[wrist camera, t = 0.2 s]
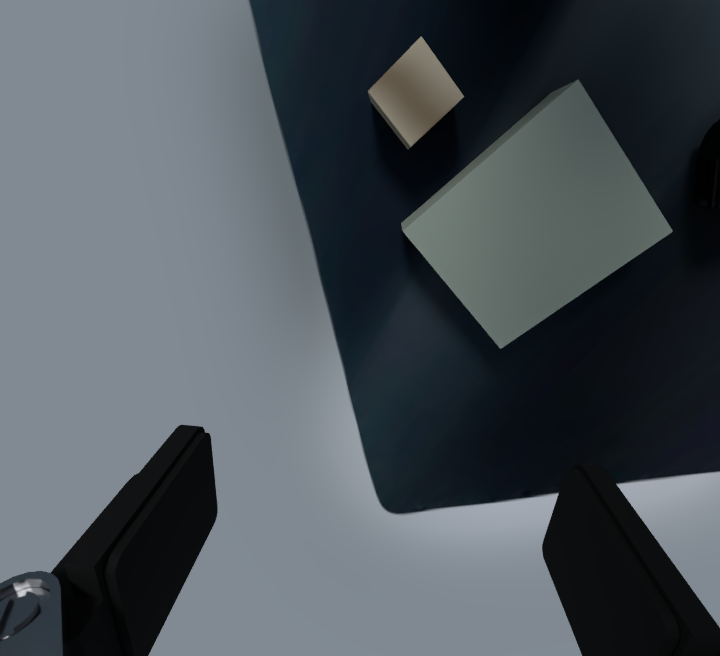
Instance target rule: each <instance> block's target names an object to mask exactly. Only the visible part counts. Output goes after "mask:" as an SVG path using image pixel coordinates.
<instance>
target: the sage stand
mask: <svg viewBox="0 0 720 656" xmlns="http://www.w3.org/2000/svg"><path fill="white" fill-rule="evenodd" d="M401 225H402V231H403V232H404V233H405V235H406V236H407V237H408V238H409V239H410V241H411V242H412V243H413V244H414V245H415V247H416V248H417V249H418V250H419V251H420V253H421V254H422V255H423V256H424V257H425V259H426V260H427V261H428V262H429V264H430V265H431V266H432V267H433V268H434V270H435V271H436V272H437V273H438V274H439V276H440V277H441V278H442V279H443V280H444V282H445V283H446V284H447V285H448V286H449V288H450V289H451V290H452V291H453V292H454V294H455V295H456V296H457V297H458V298H459V300H460V301H461V302H462V303H463V304H464V306H465V307H466V308H467V309H468V310H469V312H470V313H471V314H472V315H473V316H474V318H475V319H476V320H477V321H478V322H479V324H480V325H481V326H482V327H483V328H484V330H485V331H486V332H487V333H488V334H489V336H490V337H491V338H492V339H493V340H494V342H495V343H496V344H497V345H498V347H499V348H500V349H501V348H503V347H504V346H506V345H507V344H509V343H510V342H512V341H513V340H515V339H516V338H517V337H519V336H520V335H522V334H523V333H525V332H526V331H528V330H529V329H531V328H532V327H534V326H535V325H537V324H538V323H539V322H541V321H542V320H544V319H545V318H547V317H548V316H550V315H551V314H553V313H554V312H556V311H557V310H558V309H560V308H561V307H563V306H564V305H566V304H567V303H569V302H570V301H572V300H573V299H575V298H576V297H578V296H579V295H580V294H582V293H583V292H585V291H586V290H588V289H589V288H591V287H592V286H594V285H595V284H597V283H598V282H600V281H601V280H602V279H604V278H605V277H607V276H608V275H610V274H611V273H613V272H614V271H616V270H617V269H619V268H620V267H622V266H623V265H624V264H626V263H627V262H629V261H630V260H632V259H633V258H635V257H636V256H638V255H639V254H641V253H642V252H643V251H645V250H646V249H648V248H649V247H651V246H652V245H654V244H655V243H657V242H658V241H660V240H661V239H663V238H664V237H665V236H667V235H668V234H670V233H671V232H673V231H672V229H671V227H670V226H669V224H668V223H667V221H666V219H665V218H664V216H663V215H662V213H661V211H660V210H659V208H658V207H657V205H656V203H655V202H654V200H653V198H652V197H651V195H650V194H649V192H648V190H647V189H646V187H645V186H644V184H643V182H642V181H641V179H640V178H639V176H638V174H637V173H636V171H635V170H634V168H633V166H632V165H631V163H630V162H629V160H628V158H627V157H626V155H625V153H624V152H623V150H622V149H621V147H620V145H619V144H618V142H617V141H616V139H615V137H614V136H613V134H612V133H611V131H610V129H609V128H608V126H607V125H606V123H605V121H604V120H603V118H602V116H601V115H600V113H599V112H598V110H597V108H596V107H595V105H594V104H593V102H592V100H591V99H590V97H589V96H588V94H587V92H586V91H585V89H584V88H583V86H582V84H581V83H580V81H579V79H578V80H576V81H574V82H572V83H570V84H568V85H565V86H563V87H561V88H559V89H557V90H555V91H553V92H551V93H550V94H549V95H548V96H547V97H545V98H544V99H543V100H542V101H541V102H540V103H539V104H537V105H536V106H535V107H534V108H533V109H532V110H531V111H529V112H528V113H527V114H526V115H525V116H524V117H523V118H521V119H520V120H519V121H518V122H517V123H516V124H515V125H513V126H512V127H511V128H510V129H509V130H508V131H507V132H505V133H504V134H503V135H502V136H501V137H500V138H498V139H497V140H496V141H495V142H494V143H493V144H492V145H490V146H489V147H488V148H487V149H486V150H485V151H484V152H482V153H481V154H480V155H479V156H478V157H477V158H476V159H474V160H473V161H472V162H471V163H470V164H469V165H468V166H466V167H465V168H464V169H463V170H462V171H461V172H459V173H458V174H457V175H456V176H455V177H454V178H453V179H451V180H450V181H449V182H448V183H447V184H446V185H445V186H443V187H442V188H441V189H440V190H439V191H438V192H437V193H435V194H434V195H433V196H432V197H431V198H430V199H429V200H427V201H426V202H425V203H424V204H423V205H422V206H420V207H419V208H418V209H417V210H416V211H415V212H414V213H412V214H411V215H410V216H409V217H408V218H407V219H406V220H404V221H403V222H402V223H401Z"/></svg>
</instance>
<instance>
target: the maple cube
mask: <svg viewBox="0 0 720 656" xmlns="http://www.w3.org/2000/svg"><path fill="white" fill-rule="evenodd" d="M368 94H369V97H370V101H371V103H372V104H373V105H374V107H375V108H376V109H377V110H378V112H379V113H380V114H381V116H382V117H383V118H384V119H385V121H386V122H387V123H388V125H389V126H390V127H391V128H392V130H393V131H394V132H395V134H396V135H397V136H398V137H399V139H400V140H401V141H402V143H403V144H404V145H405V147H406V148H407V149H409V148H410V147H411V146H413V145H414V144H415V143H416V142H417V141H418V140H419V139H420V138H421V137H422V136H423V135H424V134H425V133H426V132H427V131H429V130H430V129H431V128H432V127H433V126H434V125H435V124H436V123H437V122H438V121H439V120H440V119H441V118H442V117H443V116H445V115H446V114H447V113H448V112H449V111H450V110H451V109H452V108H453V107H454V106H455V105H456V104H457V103H458V102H459V101H460V100H461V99H462V98H463V97H464V96H463V94H462V93H461V91H460V90H459V89H458V87H457V86H456V84H455V83H454V82H453V80H452V79H451V77H450V76H449V75H448V73H447V72H446V70H445V69H444V67H443V66H442V65H441V63H440V62H439V60H438V59H437V58H436V56H435V55H434V53H433V52H432V51H431V49H430V48H429V46H428V45H427V44H426V42H425V41H424V39H423V38H422V36H421V37H420V38H419V39H418V40H417V41H416V42H415V43H414V44H413V45H412V46H411V47H410V48H409V49H408V50H407V51H406V53H405V54H404V55H403V56H402V57H401V58H400V59H399V60H398V61H397V62H396V63H395V64H394V65H393V66H392V67H391V68H390V69H389V70H388V71H387V72H386V73H385V74H384V75H383V76H382V77H381V78H380V79H379V80H378V81H377V82H376V84H375V85H374V86H373V87H372V88H371V89H370V90H369V91H368Z"/></svg>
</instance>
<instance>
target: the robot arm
mask: <svg viewBox="0 0 720 656" xmlns="http://www.w3.org/2000/svg"><path fill="white" fill-rule="evenodd" d="M216 517H217V498H216V488H215V477H214V467H213V457H212V446H211V437H210V434H209V433H205V431H204V429H203V427H199V426H189V425H188V426H187V425H180V426H178V427H177V428H176V429H175V431H174V432H173V433H172V434H171V435H170V437H169V438H168V439H167V440H166V441H165V443H164V444H163V445H162V446H161V448H160V449H159V450H158V451H157V452H156V453H155V455H154V456H153V457H152V458H151V459H150V461H149V462H148V463H147V464H146V465H145V467H144V468H143V469H142V470H141V471H140V473H138V474H136V475H134V476H133V477H132V478H131V479H130V480H129V481H128V482H127V483H126V484H125V486H124V487H123V488H122V489H121V490H120V491H119V493H118V494H117V495H116V496H115V497H114V499H113V500H112V501H111V502H110V503H109V504H108V506H107V507H106V508H105V509H104V510H103V511H102V513H101V514H100V515H99V516H98V517H97V519H96V520H95V521H94V522H93V523H92V524H91V526H90V527H89V528H88V529H87V530H86V532H85V533H84V534H83V535H82V536H81V538H80V539H79V540H78V541H77V542H76V543H75V545H74V546H73V547H72V548H71V549H70V550H69V552H68V553H67V554H66V555H65V557H64V558H63V559H62V560H61V561H60V562H59V564H58V565H57V566H56V567H55V568H54V569H53V571H52V572H51V573H48V572H43V571H36V572H27V573H24V574H21V575H18V576H15V577H12V578H10V579H8V580H6V581H4V582H2V583H0V656H148V655H149V653H150V651H151V649H152V647H153V645H154V643H155V641H156V639H157V637H158V635H159V633H160V631H161V629H162V627H163V625H164V623H165V621H166V619H167V617H168V615H169V613H170V611H171V609H172V607H173V605H174V603H175V601H176V599H177V597H178V595H179V593H180V591H181V589H182V587H183V585H184V583H185V581H186V579H187V577H188V575H189V573H190V571H191V569H192V567H193V565H194V563H195V561H196V559H197V557H198V555H199V553H200V551H201V549H202V547H203V545H204V543H205V541H206V539H207V537H208V535H209V533H210V531H211V529H212V527H213V525H214V523H215V520H216ZM542 550H543V557H544V560H545V563H546V565H547V567H548V570H549V572H550V575H551V578H552V580H553V583H554V585H555V588H556V590H557V593H558V595H559V598H560V600H561V603H562V606H563V608H564V611H565V613H566V616H567V618H568V621H569V623H570V625H571V628H572V631H573V633H574V636H575V638H576V641H577V643H578V646H579V648H580V651H581V653H582V656H720V628H719V626H718V625H717V623H716V622H715V621H714V619H713V618H712V617H711V615H710V614H709V612H708V611H707V610H706V608H705V607H704V606H703V604H702V603H701V601H700V600H699V598H698V597H697V596H696V594H695V593H694V592H693V590H692V589H691V588H690V586H689V585H688V583H687V582H686V581H685V579H684V578H683V576H682V575H681V574H680V572H679V571H678V569H677V568H676V567H675V565H674V564H673V563H672V561H671V560H670V558H669V557H668V556H667V554H666V553H665V552H664V550H663V549H662V547H661V546H660V544H659V543H658V542H657V540H656V539H655V538H654V536H653V535H652V533H651V532H650V531H649V529H648V528H647V526H646V525H645V524H644V522H643V521H642V519H641V518H640V517H639V515H638V514H637V513H636V511H635V510H634V508H633V507H632V506H631V504H630V503H629V502H628V500H627V499H626V497H625V496H624V495H623V493H622V492H621V491H620V489H619V488H618V486H617V485H616V483H615V482H614V481H613V479H612V478H611V477H610V475H609V474H608V472H607V471H606V470H605V469H604V468H603V467H602V466H600V465H591V464H581V463H577V464H575V465H574V466H573V468H572V469H571V468H570V469H568V470H567V471H566V473H565V476H564V479H563V482H562V485H561V489H560V492H559V495H558V498H557V501H556V504H555V507H554V510H553V513H552V516H551V520H550V523H549V525H548V529H547V532H546V535H545V538H544V541H543V545H542Z"/></svg>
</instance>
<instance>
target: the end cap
mask: <svg viewBox="0 0 720 656" xmlns="http://www.w3.org/2000/svg"><path fill="white" fill-rule="evenodd" d="M694 203H695V204H697V205H703V206H705V205H707V208H710V209H718V210H720V119H719V120H718V121H717V122H716V123H714V124H713V125H712V127H711V128H710V129H709V130H708V132H707V133H706V135H705V137H704V139H703V141H702V143H701V146H700V149H699V154H698V159H697V168H696V180H695V191H694Z"/></svg>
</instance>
